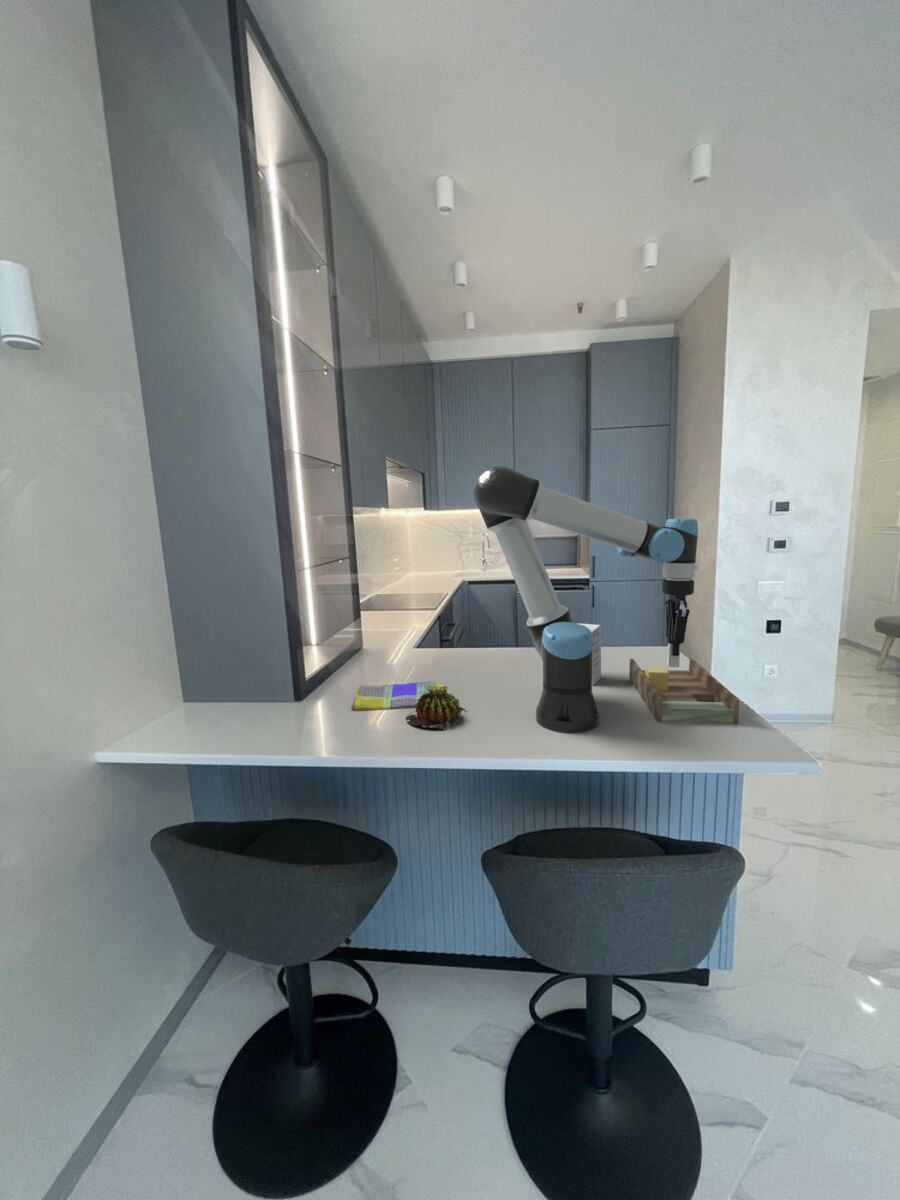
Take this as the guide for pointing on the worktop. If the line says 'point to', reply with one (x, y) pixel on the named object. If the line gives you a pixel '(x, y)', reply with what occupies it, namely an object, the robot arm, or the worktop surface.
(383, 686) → the dish towel
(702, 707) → the tray
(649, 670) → the block
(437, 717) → the cactus
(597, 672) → the supplement box
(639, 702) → the worktop surface
